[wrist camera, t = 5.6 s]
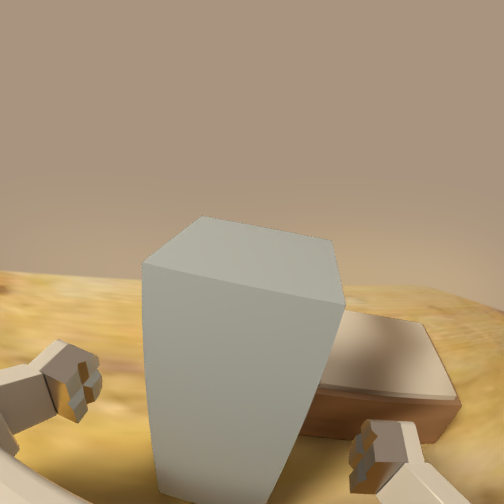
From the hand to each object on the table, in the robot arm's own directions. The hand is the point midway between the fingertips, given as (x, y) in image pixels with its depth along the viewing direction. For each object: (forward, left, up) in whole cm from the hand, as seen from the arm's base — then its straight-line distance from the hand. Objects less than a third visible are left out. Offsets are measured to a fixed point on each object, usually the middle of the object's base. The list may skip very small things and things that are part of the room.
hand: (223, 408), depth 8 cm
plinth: (+7, +8, -5) cm, 12 cm away
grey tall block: (0, +1, -6) cm, 6 cm away
